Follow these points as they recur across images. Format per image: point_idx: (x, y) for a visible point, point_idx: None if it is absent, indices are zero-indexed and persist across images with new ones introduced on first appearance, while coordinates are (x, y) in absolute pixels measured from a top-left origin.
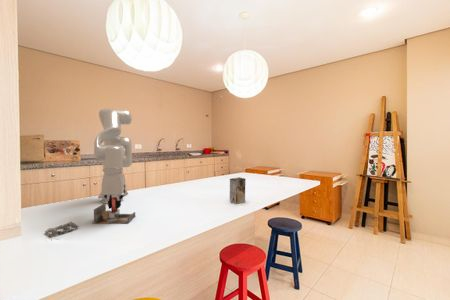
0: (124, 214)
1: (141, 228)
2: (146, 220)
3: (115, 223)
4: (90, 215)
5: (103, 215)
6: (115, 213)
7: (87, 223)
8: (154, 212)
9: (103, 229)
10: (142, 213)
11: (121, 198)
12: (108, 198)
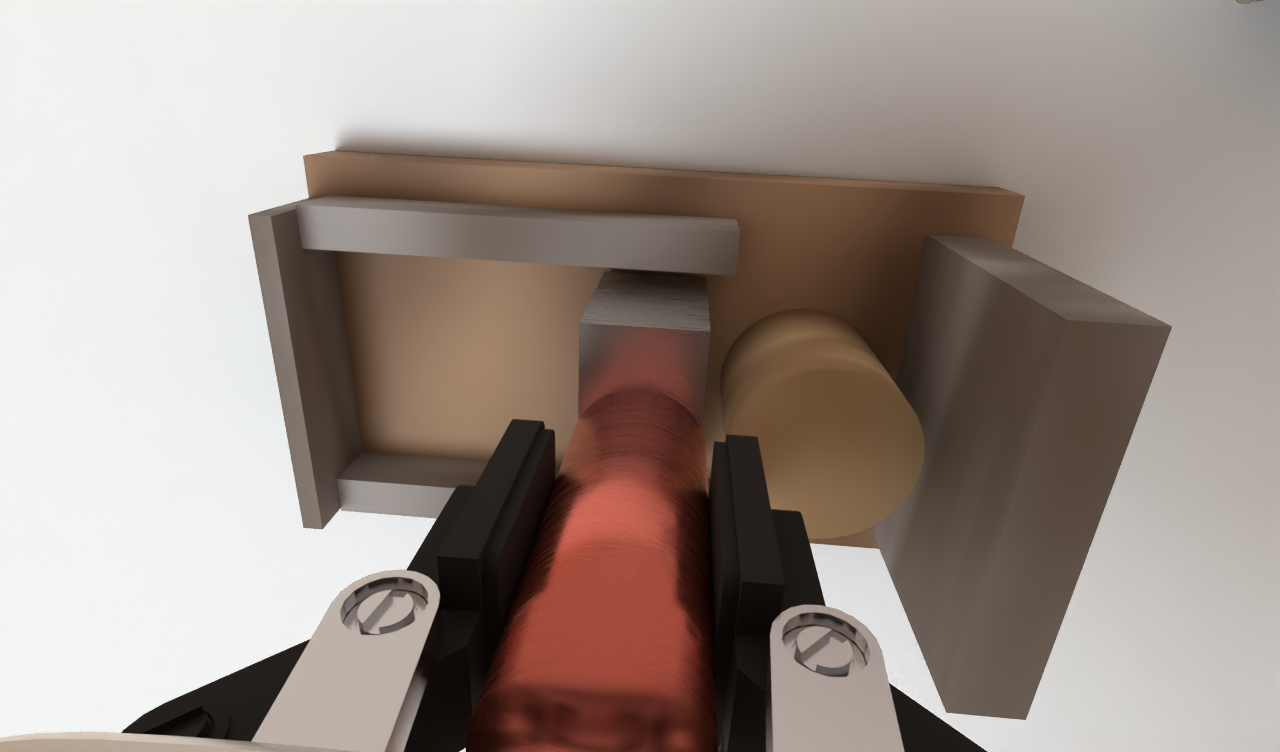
0: None
1: (69, 75)
2: (179, 410)
3: (553, 188)
4: (1164, 656)
5: (856, 355)
6: (582, 363)
7: None
8: None
9: (731, 53)
10: None
11: (274, 675)
12: (807, 681)
